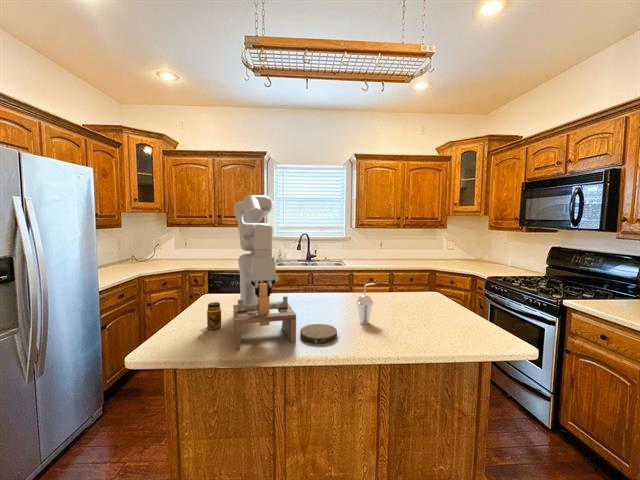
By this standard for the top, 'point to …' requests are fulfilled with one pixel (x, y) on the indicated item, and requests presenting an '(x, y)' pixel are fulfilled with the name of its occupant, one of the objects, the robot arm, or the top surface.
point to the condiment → (213, 318)
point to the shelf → (265, 318)
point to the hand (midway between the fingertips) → (263, 295)
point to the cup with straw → (364, 306)
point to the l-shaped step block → (263, 302)
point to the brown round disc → (318, 334)
